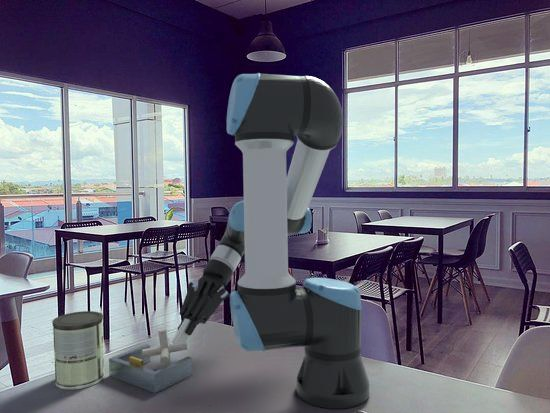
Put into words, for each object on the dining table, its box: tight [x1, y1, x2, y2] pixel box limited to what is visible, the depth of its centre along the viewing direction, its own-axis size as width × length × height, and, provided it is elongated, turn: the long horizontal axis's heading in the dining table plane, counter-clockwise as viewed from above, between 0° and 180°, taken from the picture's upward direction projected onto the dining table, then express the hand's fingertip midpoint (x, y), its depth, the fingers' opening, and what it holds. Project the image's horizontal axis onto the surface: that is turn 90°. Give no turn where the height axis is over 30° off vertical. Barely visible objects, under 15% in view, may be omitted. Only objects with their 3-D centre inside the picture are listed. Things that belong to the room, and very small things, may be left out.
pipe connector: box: [142, 327, 188, 368], centre depth 105 cm, size 10×10×10 cm
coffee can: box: [51, 310, 106, 391], centre depth 101 cm, size 10×10×14 cm
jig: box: [108, 344, 193, 394], centre depth 103 cm, size 15×11×5 cm
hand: (176, 345), depth 110 cm, fingers closed
